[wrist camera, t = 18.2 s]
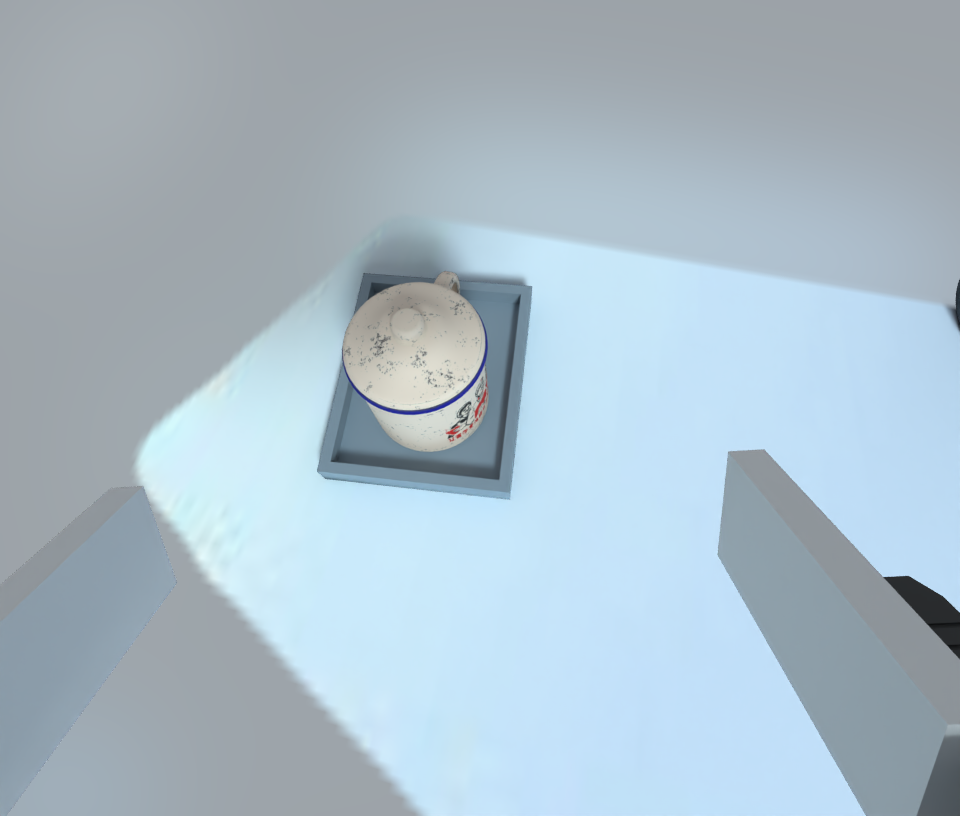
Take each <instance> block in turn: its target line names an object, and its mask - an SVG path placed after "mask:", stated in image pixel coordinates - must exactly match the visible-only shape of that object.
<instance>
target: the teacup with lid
mask: <svg viewBox="0 0 960 816" xmlns="http://www.w3.org/2000/svg"><path fill="white" fill-rule="evenodd" d="M487 351H488V340H487V333H486V329H485V326H484V323H483V321H482V319H481V317H480V316H479V314H478V312H477V311H476V310H475V308H474V307H473V306H472V305H471V304H470V303H469V302H468V301H467V300H466V299H465V298H464V297H462V296H461V295H460V284H459V279H458V276H457V275H456V274H455V273H453V272H448V271H444V272H442V273H440V274H439V275H438V277H437V278H436V280H435V282H434V284H433V283H425V282H411V283H404V284H399V285H395V286H392V287H390V288H387V289H385V290H383V291H381V292H379V293H377V294H376V295H374V296H373V297H371V298H370V299H369V300H368V301H366V302H365V303H364V304H363V305H362V306H361V307H360V308H359V310H358V311H357V312H356V313H355V315H354V316H353V318H352V319H351V321H350V323H349V325H348V327H347V330H346V333H345V336H344V340H343V348H342V359H343V366H344V370H345V373H346V376H347V378H348V380H349V382H350V383H351V385H352V387H353V388H354V389H355V391H356V392H357V393H358V394H359V395H360V396H361V397H362V398H363V399H365V400H366V402H367V404H368V405H369V407H370V409H371V410H372V412H373V414H374V415H375V417H376V419H377V420H378V422H379V424H380V425H381V427H382V428H383V430H384V431H385V432H386V434H387V435H388V436H389V437H390V438H392V439H393V440H394V441H395V442H397V443H398V444H400V445H402V446H404V447H406V448H409V449H412V450H416V451H423V452H435V451H441V450H445V449H449V448H451V447H454V446H456V445H458V444H460V443H461V442H463V441H465V440H466V439H467V438H468V437H470V436H471V435H472V434H473V433H474V432H475V430H476V429H477V428H478V427H479V425H480V424H481V422H482V420H483V418H484V416H485V413H486V411H487V406H488V400H489V391H488V381H487V371H486V357H487Z"/></svg>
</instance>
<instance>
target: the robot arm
mask: <svg viewBox="0 0 960 816" xmlns="http://www.w3.org/2000/svg"><path fill="white" fill-rule="evenodd" d="M956 310H957V315H958V319H959V322H960V280H959V283H958V286H957V291H956ZM718 557H719V558H720V560H721V562H722V564H723V565H724V567H725V569H726V571H727V572H728V574H729V576H730V578H731V579H732V581H733V583H734V585H735V586H736V588H737V590H738V592H739V593H740V595H741V597H742V599H743V600H744V602H745V604H746V606H747V608H748V609H749V611H750V613H751V615H752V616H753V618H754V620H755V622H756V623H757V625H758V627H759V629H760V630H761V632H762V634H763V636H764V637H765V639H766V641H767V643H768V644H769V646H770V648H771V650H772V651H773V653H774V655H775V657H776V658H777V660H778V662H779V664H780V665H781V667H782V669H783V671H784V672H785V674H786V676H787V678H788V680H789V681H790V683H791V685H792V687H793V688H794V690H795V692H796V694H797V695H798V697H799V699H800V701H801V702H802V704H803V706H804V708H805V709H806V711H807V713H808V715H809V716H810V718H811V720H812V722H813V723H814V725H815V727H816V729H817V730H818V732H819V734H820V736H821V737H822V739H823V741H824V743H825V744H826V746H827V748H828V750H829V752H830V753H831V755H832V757H833V759H834V760H835V762H836V764H837V766H838V767H839V769H840V771H841V773H842V774H843V776H844V778H845V780H846V781H847V783H848V785H849V787H850V788H851V790H852V792H853V794H854V795H855V797H856V799H857V801H858V802H859V804H860V806H861V808H862V809H863V811H864V813H865V815H866V816H960V613H959V612H958V611H957V610H956V609H955V608H954V607H953V606H952V605H951V604H950V603H949V602H948V601H947V600H946V599H945V598H944V597H943V596H941V595H940V594H938V593H936V592H934V591H933V590H931V589H929V588H928V587H926V586H924V585H923V584H921V583H919V582H918V581H916V580H914V579H913V578H911V577H909V576H897V577H882V575H881V574H880V573H879V572H878V571H877V570H876V569H875V568H874V567H873V566H872V565H871V564H870V563H869V562H868V560H867V559H866V558H865V557H864V556H863V555H862V554H861V553H860V552H859V551H858V550H857V549H856V548H855V546H854V545H853V544H852V543H851V542H850V541H849V540H848V539H847V538H846V537H845V536H844V535H843V534H842V533H841V531H840V530H839V529H838V528H837V527H836V526H835V525H834V524H833V523H832V522H831V521H830V520H829V519H828V518H827V516H826V515H825V514H824V513H823V512H822V511H821V510H820V509H819V508H818V507H817V506H816V505H815V504H814V502H813V501H812V500H811V499H810V498H809V497H808V496H807V495H806V494H805V493H804V492H803V491H802V490H801V489H800V487H799V486H798V485H797V484H796V483H795V482H794V481H793V480H792V479H791V478H790V477H789V476H788V475H787V474H786V472H785V471H784V470H783V469H782V468H781V467H780V466H779V465H778V464H777V463H776V462H775V461H774V460H773V458H772V457H771V456H770V455H769V454H768V453H767V452H766V451H765V450H747V451H730V452H728V459H727V469H726V478H725V488H724V498H723V507H722V517H721V526H720V536H719V545H718ZM176 583H177V580H176V578H175V575H174V572H173V569H172V566H171V563H170V561H169V558H168V555H167V552H166V549H165V546H164V544H163V541H162V538H161V535H160V532H159V529H158V527H157V524H156V521H155V518H154V515H153V512H152V510H151V507H150V504H149V501H148V498H147V495H146V493H145V490H144V487H143V486H137V487H121V488H110V489H109V490H108V491H107V492H106V493H105V494H103V495H102V496H101V497H100V498H99V499H98V500H96V502H94V503H93V504H92V505H91V506H90V507H89V508H87V509H86V510H85V511H84V512H83V513H82V514H81V515H79V516H78V517H77V518H76V519H75V520H74V521H73V522H71V523H70V524H69V525H68V526H67V527H66V528H65V529H63V530H62V531H61V532H60V533H59V534H58V535H57V536H55V537H54V538H53V539H52V540H51V541H50V542H49V543H47V544H46V545H45V546H44V547H43V548H42V549H41V550H39V552H37V553H36V554H35V555H34V556H33V557H31V559H29V560H28V561H27V562H26V563H25V564H23V565H22V566H21V567H20V568H19V569H18V570H17V571H16V572H14V574H12V575H11V576H10V577H9V578H8V579H6V580H5V581H4V582H3V583H2V584H1V585H0V816H7V814H8V813H9V812H10V810H11V809H12V807H13V806H14V805H15V803H16V802H17V801H18V799H19V798H20V797H21V795H22V794H23V792H24V791H25V789H26V788H27V787H28V785H29V784H30V783H31V781H32V780H33V779H34V777H35V776H36V775H37V773H38V772H39V771H40V769H41V768H42V767H43V765H44V764H45V762H46V761H47V760H48V758H49V757H50V755H51V754H52V753H53V751H54V750H55V749H56V747H57V746H58V745H59V743H60V742H61V741H62V739H63V738H64V736H65V735H66V734H67V732H68V731H69V730H70V728H71V727H72V725H73V724H74V723H75V721H76V720H77V719H78V717H79V716H80V715H81V713H82V712H83V711H84V709H85V708H86V706H87V705H88V704H89V702H90V701H91V699H92V698H93V697H94V696H95V694H96V693H97V691H98V690H99V689H100V687H101V686H102V684H103V683H104V682H105V681H106V679H107V678H108V676H109V675H110V674H111V672H112V671H113V669H114V668H115V667H116V665H117V664H118V663H119V661H120V660H121V659H122V657H123V656H124V655H125V653H126V652H127V650H128V649H129V648H130V646H131V645H132V644H133V642H134V641H135V639H136V638H137V637H138V635H139V634H140V633H141V631H142V630H143V629H144V627H145V626H146V624H147V623H148V622H149V620H150V619H151V618H152V616H153V615H154V614H155V612H156V611H157V610H158V608H159V607H160V605H161V604H162V603H163V601H164V600H165V599H166V597H167V596H168V594H169V593H170V592H171V590H172V589H173V588H174V586H175V585H176Z"/></svg>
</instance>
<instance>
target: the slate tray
mask: <svg viewBox="0 0 960 816" xmlns="http://www.w3.org/2000/svg"><path fill="white" fill-rule="evenodd" d="M435 280H436V279H431V278H418V277H405V276H392V275H379V274H366V273H364V274H363V278H362V283H361V287H360V291H359V295H358V300H357V304H356V308H355V312H354V315H355V313H356V312H357V311H358V310H359V308H360V307H361V306H362V305H363V304H364V303H365V302H366V301H368V300H369V299H370V298H371V297H373V296H374V295H376V294H377V293H379V292H381V291H383V290H385V289H387V288H390V287H392V286H395V285H399V284H404V283H411V282H425V283H433V284H434V282H435ZM459 284H460V295H461V296H462V297H464V298H465V299H466V300H467V301H468V302H469V303H470V304H471V305H472V306H473V307H474V308H475V310H476V311H477V312H478V314H479V316H480V317H481V319H482V321H483V323H484V326H485V329H486V333H487V340H488V351H487V357H486V371H487V381H488V391H489V400H488V406H487V411H486V413H485V416H484V418H483V420H482V422H481V424H480V425H479V427H478V428H477V429H476V430H475V432H474V433H473V434H472V435H471V436H470V437H468V438H467V439H466V440H465V441H463V442H461V443H460V444H458V445H456V446H454V447H451V448H449V449H445V450H441V451H435V452H423V451H416V450H412V449H409V448H406V447H404V446H402V445H400V444H398V443H397V442H395V441H394V440H393V439H392V438H390V437H389V436H388V435H387V434H386V432H385V431H384V430H383V428H382V427H381V425H380V424H379V422H378V420H377V419H376V417H375V415H374V414H373V412H372V410H371V409H370V407H369V405H368V404H367V402H366V400H365V399H363V398H362V397H361V396H360V395H359V394H358V393H357V392H356V391H355V389H354V388H353V387H352V385H351V383H350V382H349V380H348V378H347V376H346V373H345V370H344V366H343V363H342V367H341V371H340V376H339V380H338V384H337V388H336V393H335V397H334V401H333V405H332V410H331V414H330V418H329V422H328V427H327V431H326V435H325V439H324V443H323V448H322V452H321V456H320V460H319V465H318V469H317V472H318V473H319V474H321V475H322V476H323V477H324V478H325V479H332V480H341V481H350V482H359V483H368V484H377V485H385V486H394V487H403V488H412V489H421V490H430V491H439V492H448V493H457V494H466V495H474V496H483V497H492V498H501V499H510V492H511V483H512V474H513V465H514V456H515V447H516V437H517V428H518V419H519V410H520V401H521V391H522V382H523V373H524V364H525V355H526V345H527V336H528V327H529V318H530V309H531V299H532V286H522V285H509V284H496V283H483V282H470V281H459Z"/></svg>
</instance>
